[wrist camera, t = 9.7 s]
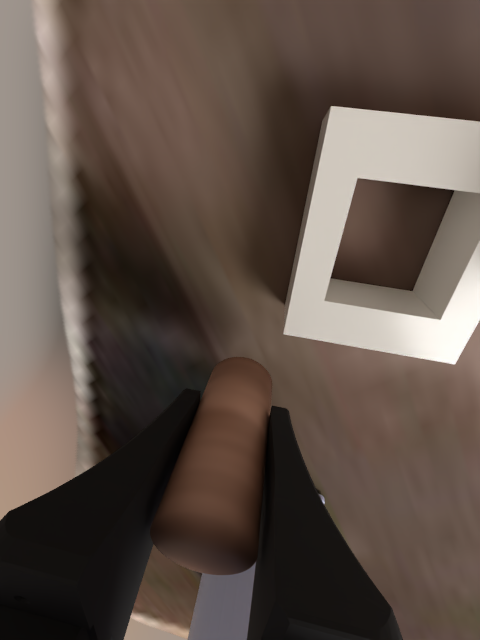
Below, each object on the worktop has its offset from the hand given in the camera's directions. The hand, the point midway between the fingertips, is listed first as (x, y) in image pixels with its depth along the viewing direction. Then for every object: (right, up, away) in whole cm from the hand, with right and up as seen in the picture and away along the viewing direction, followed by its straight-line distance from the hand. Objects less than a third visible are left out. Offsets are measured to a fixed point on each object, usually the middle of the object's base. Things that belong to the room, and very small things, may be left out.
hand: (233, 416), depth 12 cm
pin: (0, +1, +2) cm, 2 cm away
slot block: (+6, +8, +1) cm, 10 cm away
